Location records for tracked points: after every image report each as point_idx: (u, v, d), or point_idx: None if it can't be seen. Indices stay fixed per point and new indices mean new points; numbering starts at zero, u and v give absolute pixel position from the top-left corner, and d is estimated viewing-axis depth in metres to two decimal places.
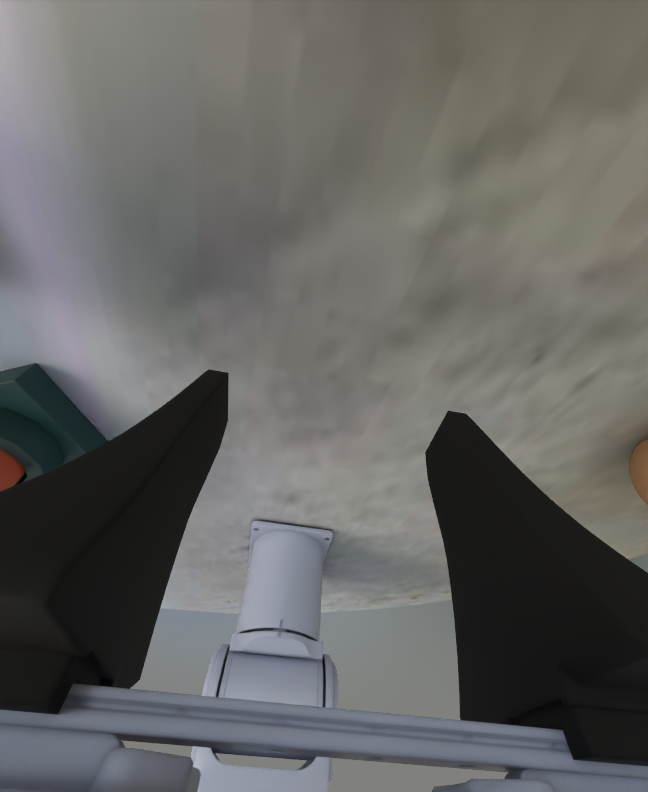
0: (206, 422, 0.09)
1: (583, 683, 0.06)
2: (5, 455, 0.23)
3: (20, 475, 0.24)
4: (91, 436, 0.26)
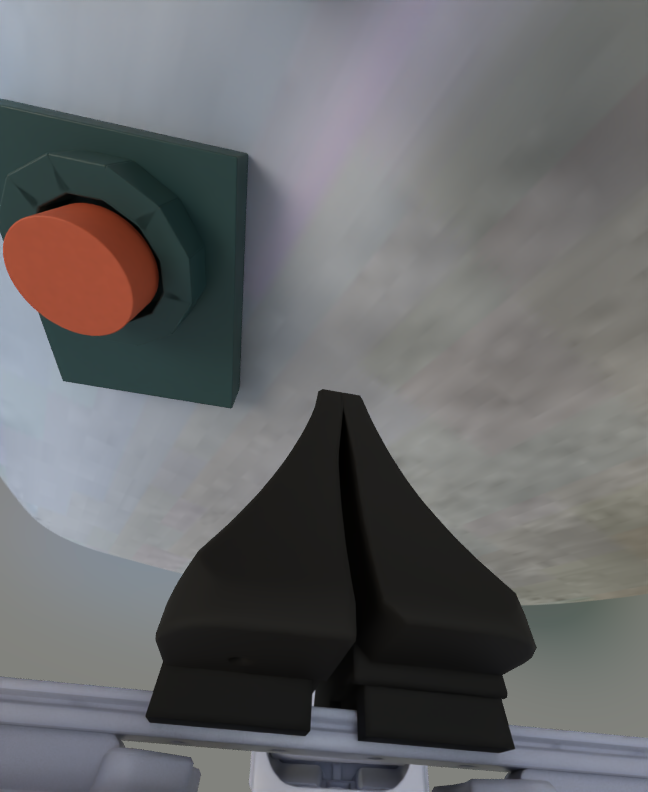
0: None
1: (373, 660, 0.05)
2: (152, 266, 0.14)
3: (143, 307, 0.15)
4: (240, 298, 0.18)
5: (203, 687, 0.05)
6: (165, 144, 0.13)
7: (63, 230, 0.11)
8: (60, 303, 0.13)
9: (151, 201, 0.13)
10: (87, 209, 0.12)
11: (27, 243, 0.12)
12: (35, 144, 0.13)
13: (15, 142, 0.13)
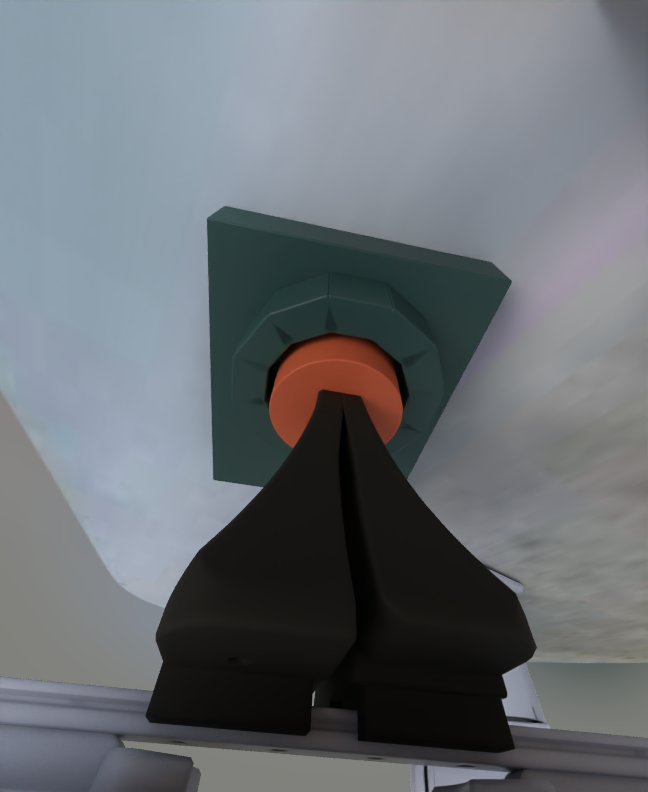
0: None
1: (373, 661, 0.05)
2: None
3: None
4: None
5: (203, 687, 0.05)
6: (432, 267, 0.11)
7: (356, 372, 0.10)
8: None
9: (430, 341, 0.11)
10: (357, 338, 0.11)
11: (308, 383, 0.11)
12: (277, 266, 0.11)
13: (253, 264, 0.11)
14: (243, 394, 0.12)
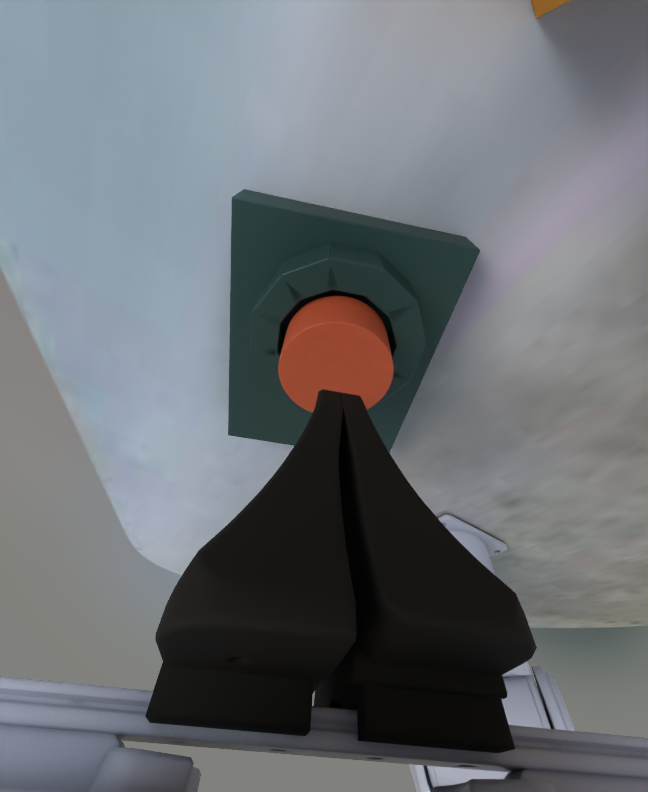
0: None
1: (373, 661, 0.05)
2: None
3: None
4: None
5: (203, 687, 0.05)
6: (414, 238, 0.14)
7: (353, 333, 0.12)
8: (316, 391, 0.14)
9: (412, 297, 0.13)
10: (354, 306, 0.13)
11: (312, 343, 0.12)
12: (287, 237, 0.14)
13: (269, 236, 0.14)
14: (259, 345, 0.15)
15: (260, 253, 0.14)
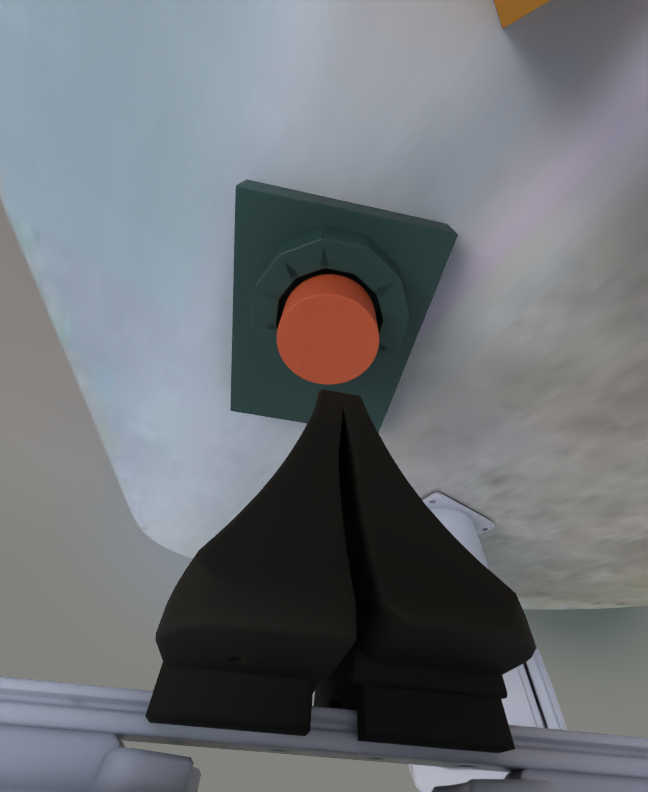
0: None
1: (373, 661, 0.05)
2: None
3: None
4: None
5: (203, 687, 0.05)
6: (399, 223, 0.15)
7: (342, 304, 0.14)
8: (310, 359, 0.15)
9: (396, 274, 0.15)
10: (344, 283, 0.15)
11: (306, 314, 0.14)
12: (285, 222, 0.15)
13: (268, 221, 0.15)
14: (260, 320, 0.16)
15: (261, 237, 0.16)
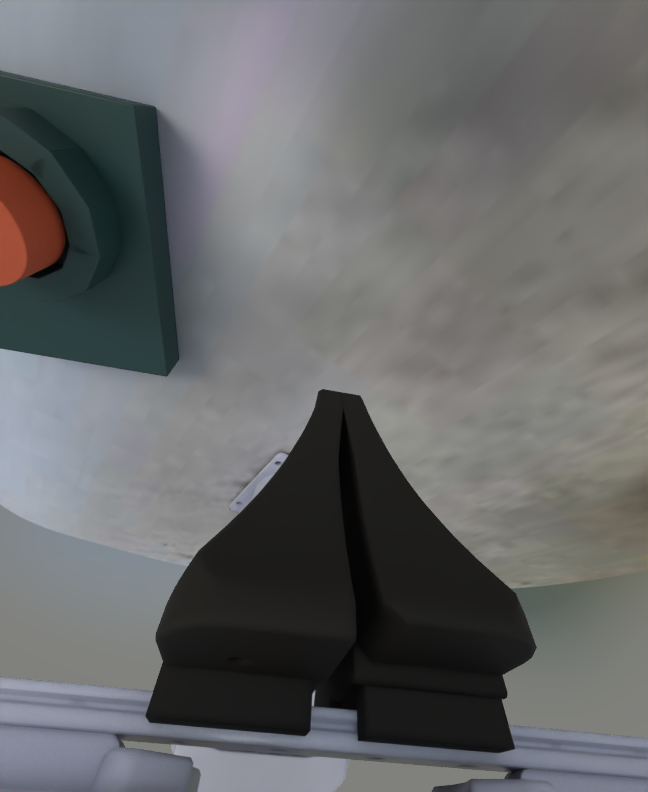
0: None
1: (373, 661, 0.05)
2: (53, 216, 0.14)
3: (52, 262, 0.15)
4: (164, 260, 0.18)
5: (203, 687, 0.05)
6: (60, 91, 0.13)
7: None
8: None
9: (41, 145, 0.12)
10: None
11: None
12: None
13: None
14: None
15: None
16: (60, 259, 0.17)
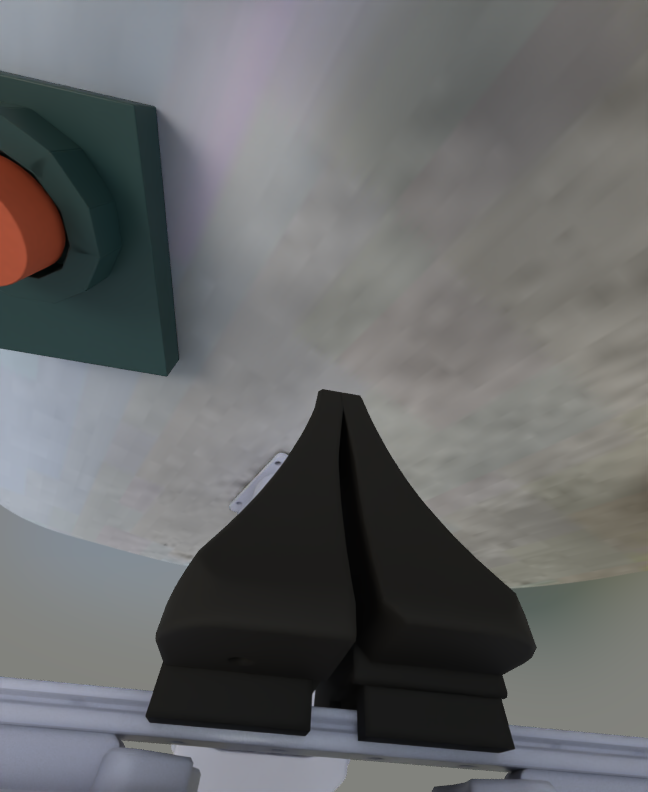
0: None
1: (373, 661, 0.05)
2: (53, 216, 0.14)
3: (52, 262, 0.15)
4: (164, 260, 0.18)
5: (203, 687, 0.05)
6: (60, 91, 0.13)
7: None
8: None
9: (41, 145, 0.12)
10: None
11: None
12: None
13: None
14: None
15: None
16: (60, 259, 0.17)
